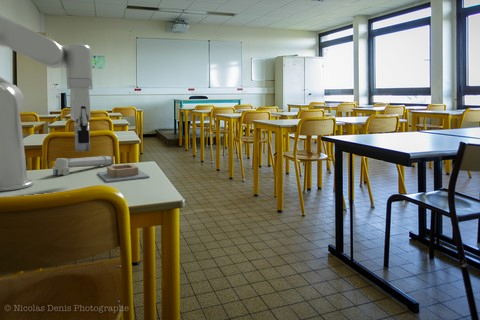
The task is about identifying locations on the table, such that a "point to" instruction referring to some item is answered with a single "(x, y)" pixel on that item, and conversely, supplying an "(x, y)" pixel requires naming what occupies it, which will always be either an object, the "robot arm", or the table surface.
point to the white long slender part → (79, 163)
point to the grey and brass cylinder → (81, 145)
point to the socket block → (122, 173)
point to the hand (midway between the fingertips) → (82, 141)
